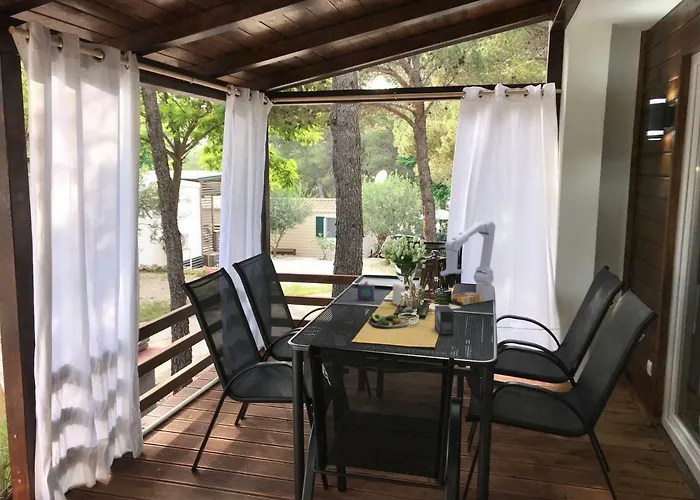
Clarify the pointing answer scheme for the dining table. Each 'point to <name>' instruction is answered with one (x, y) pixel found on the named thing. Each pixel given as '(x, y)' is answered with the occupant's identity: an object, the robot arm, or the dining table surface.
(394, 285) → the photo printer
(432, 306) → the mat
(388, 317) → the salad plate
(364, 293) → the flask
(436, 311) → the small box
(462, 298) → the candy box
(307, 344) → the dining table surface
